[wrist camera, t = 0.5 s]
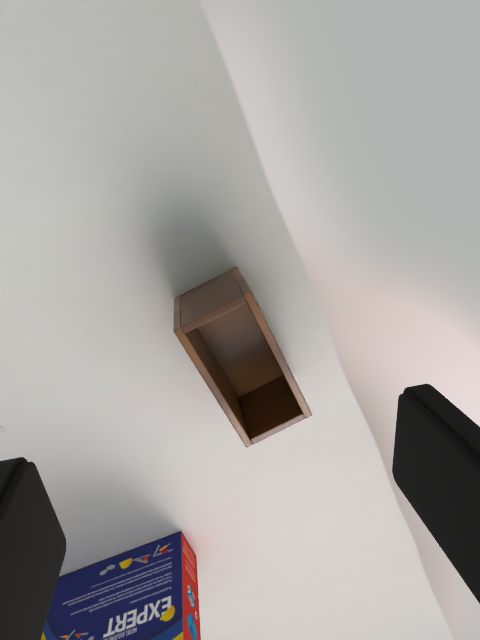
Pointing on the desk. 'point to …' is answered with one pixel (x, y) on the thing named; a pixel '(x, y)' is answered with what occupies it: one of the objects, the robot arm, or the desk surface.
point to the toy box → (130, 597)
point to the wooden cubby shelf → (238, 357)
